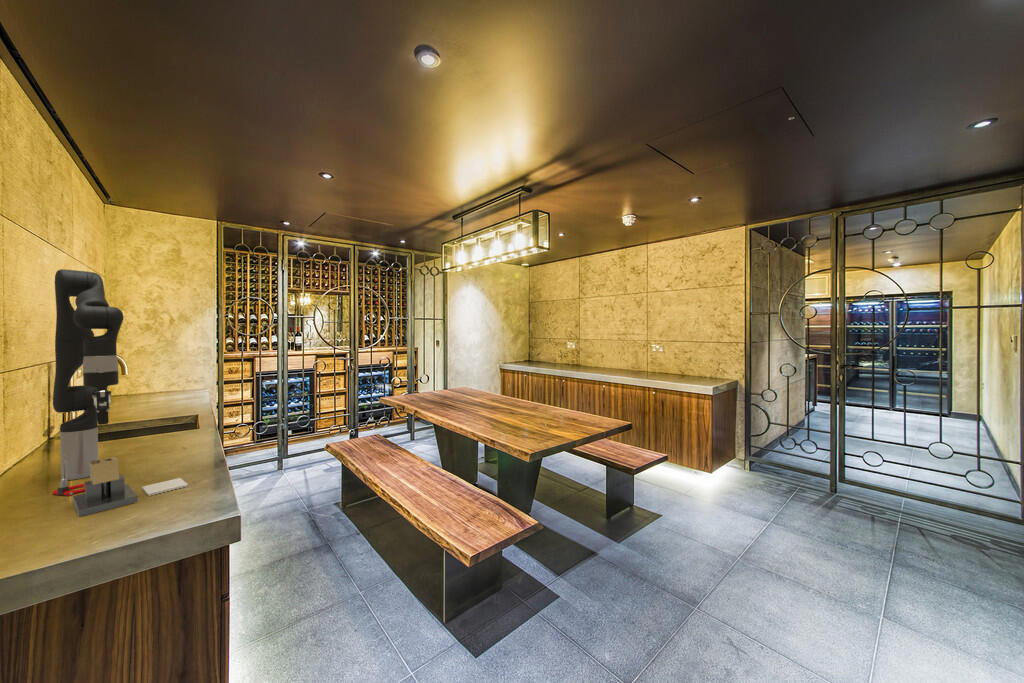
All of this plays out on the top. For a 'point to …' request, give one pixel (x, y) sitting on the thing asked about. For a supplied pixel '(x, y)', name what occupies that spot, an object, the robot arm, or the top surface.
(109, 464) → the collar
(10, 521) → the top surface
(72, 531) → the top surface
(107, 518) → the top surface
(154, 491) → the pad
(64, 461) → the tow hook
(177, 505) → the top surface
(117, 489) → the gray base plate
